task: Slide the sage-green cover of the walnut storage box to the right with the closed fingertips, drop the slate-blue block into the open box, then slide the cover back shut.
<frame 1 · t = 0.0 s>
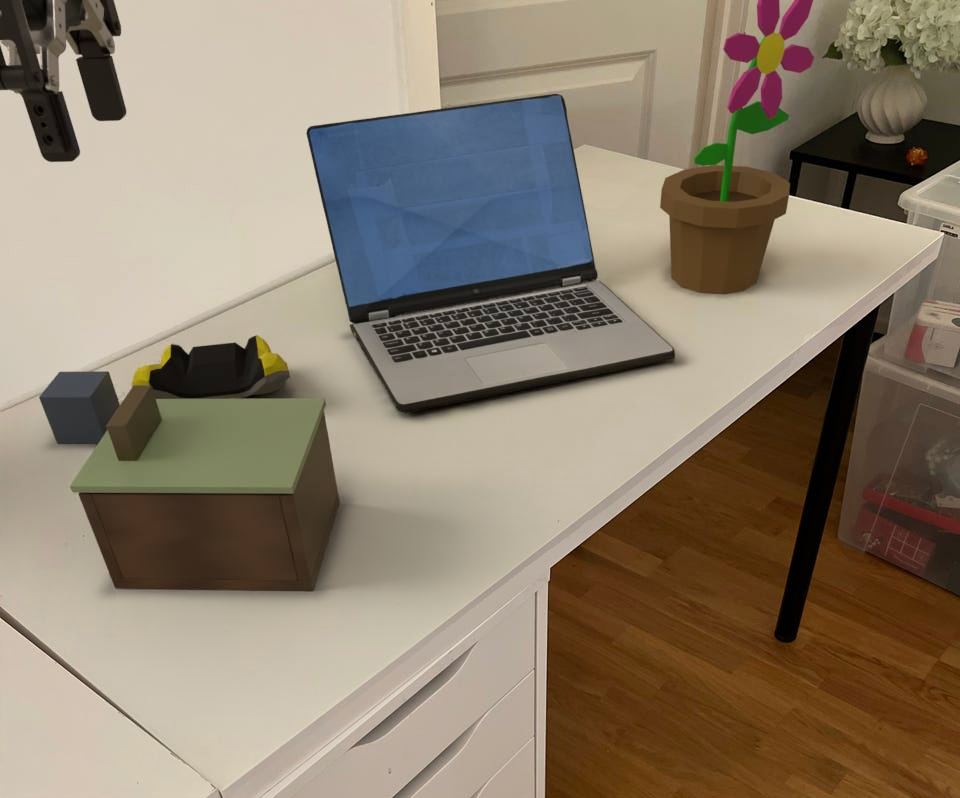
hand: (88, 138, 63), 30 cm above the table, tool pointing down, fingers open, 8 cm apart
flowerpot: (714, 277, 115), on the table
storage box: (232, 543, 80), on the table
block: (91, 430, 95), on the table
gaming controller: (221, 398, 99), on the table
cover: (200, 425, 73), point 11 cm above the table, slide at 0.0 cm
laptop: (490, 328, 108), on the table
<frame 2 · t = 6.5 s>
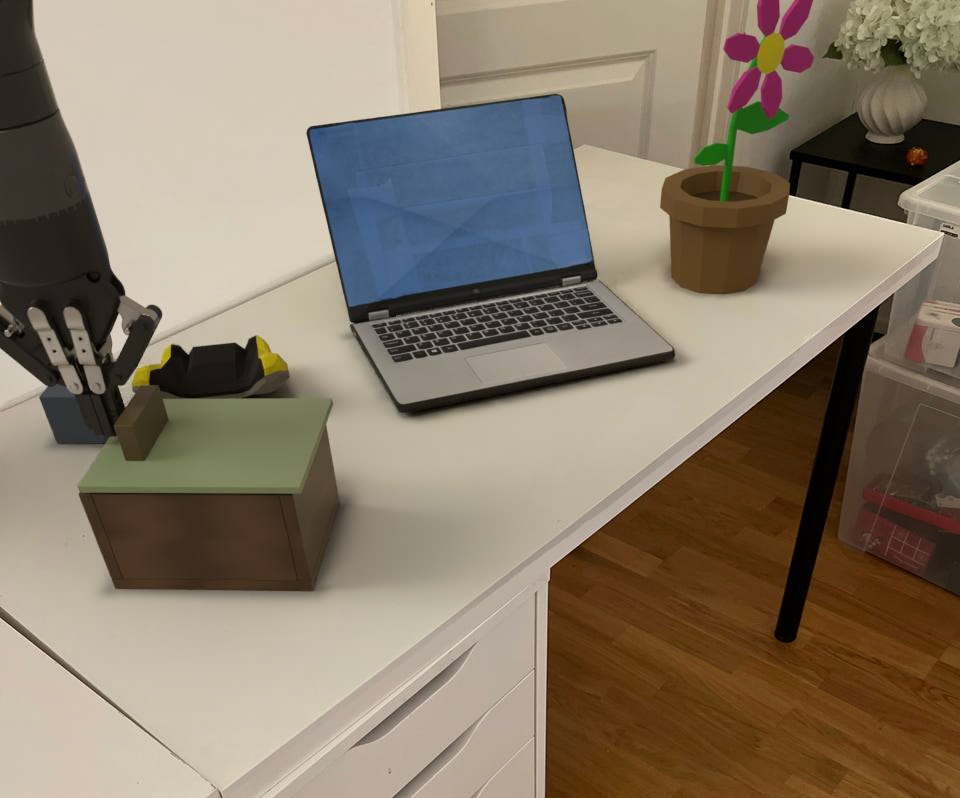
hand: (110, 431, 74), 11 cm above the table, tool pointing down, fingers closed
cover: (207, 425, 73), point 11 cm above the table, slide at 0.6 cm, touching gripper
everything else where it was.
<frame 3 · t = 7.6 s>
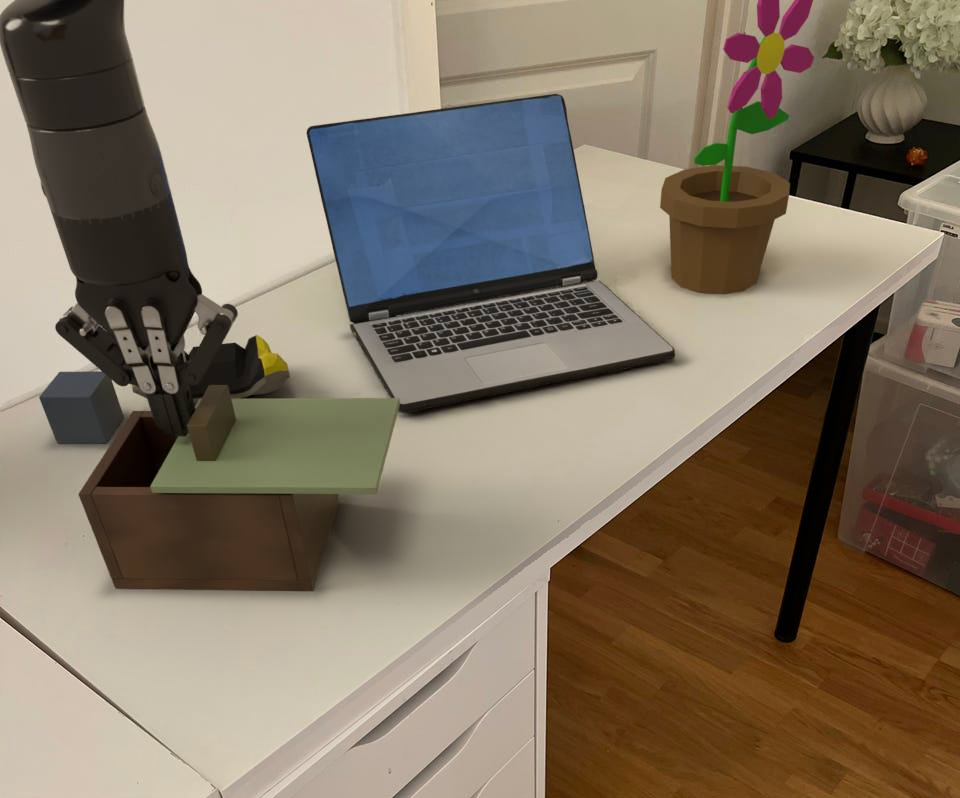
hand: (179, 431, 73), 11 cm above the table, tool pointing down, fingers closed
cover: (278, 425, 72), point 11 cm above the table, slide at 6.0 cm, touching gripper
everything else where it was.
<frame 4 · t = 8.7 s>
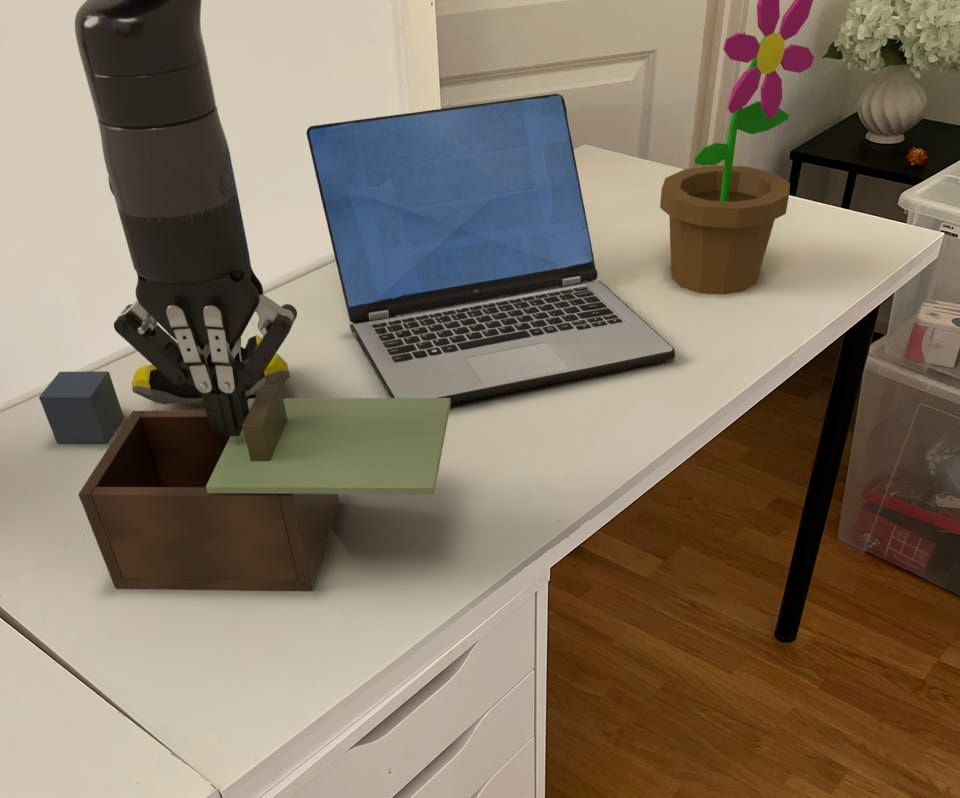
hand: (231, 430, 73), 11 cm above the table, tool pointing down, fingers closed
cover: (332, 425, 72), point 11 cm above the table, slide at 10.1 cm, touching gripper
everything else where it was.
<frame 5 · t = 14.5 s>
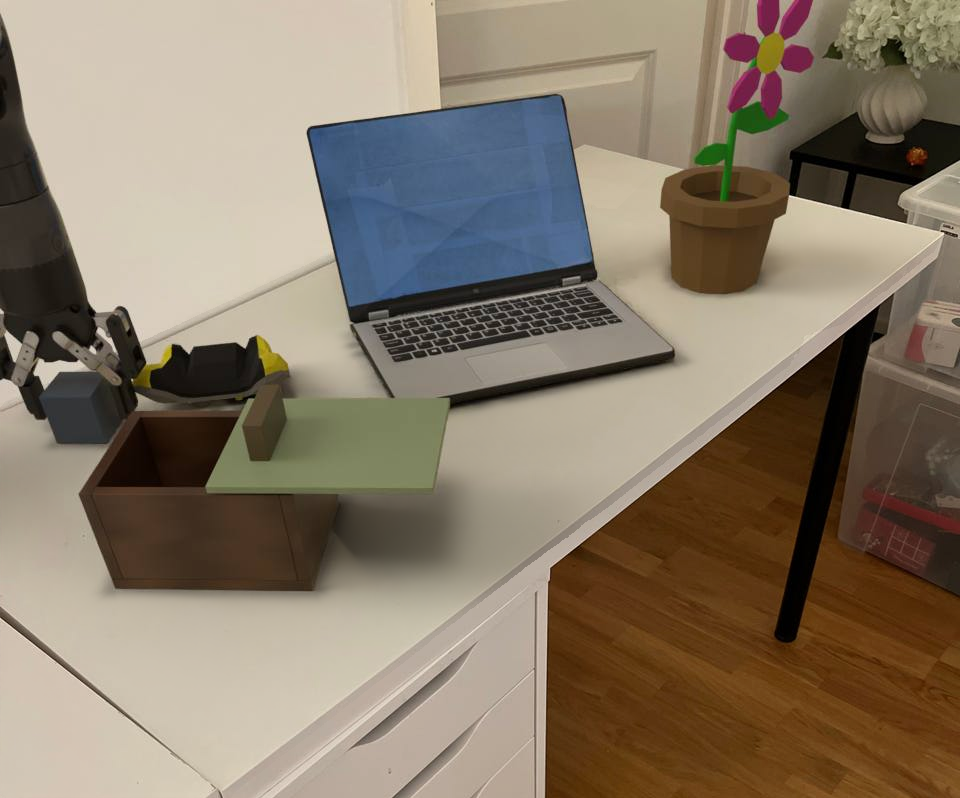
hand: (86, 415, 94), 2 cm above the table, tool pointing down, fingers open, 8 cm apart
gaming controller: (221, 398, 99), on the table, touching gripper
cover: (331, 425, 72), point 11 cm above the table, slide at 10.0 cm
everything else where it was.
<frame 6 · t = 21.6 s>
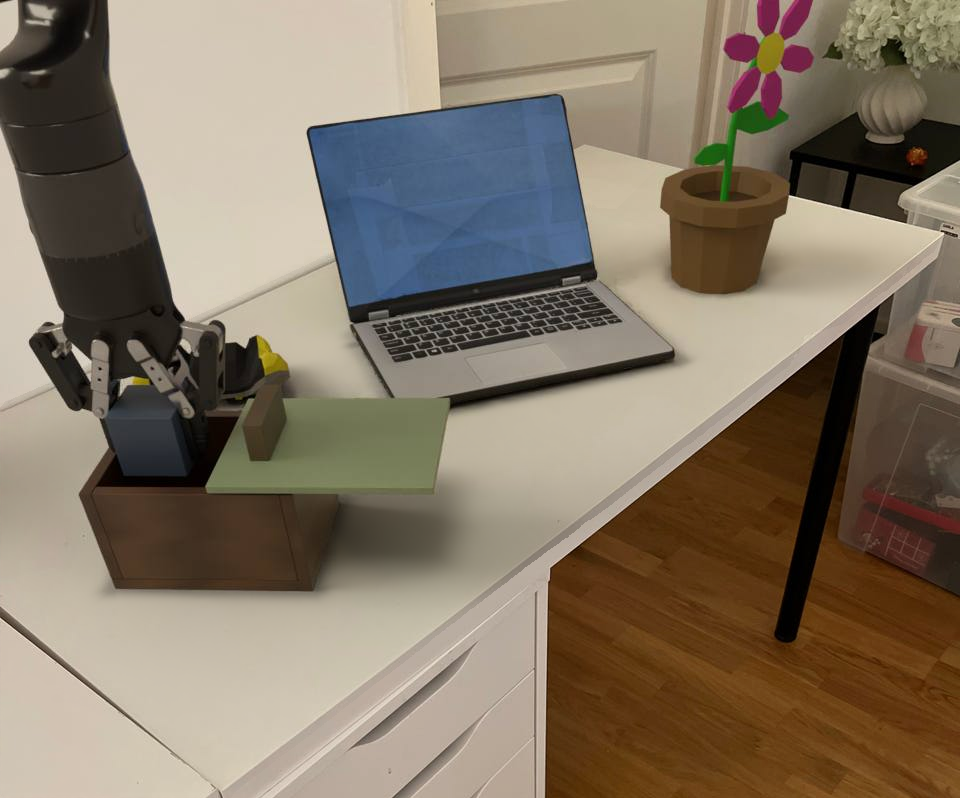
hand: (163, 453, 75), 9 cm above the table, tool pointing down, fingers closed on block, 5 cm apart
block: (165, 458, 75), point 8 cm above the table, touching gripper
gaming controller: (221, 397, 99), on the table
everything else where it was.
when the fingers open (11 cm above the table, at t = 35.2 s): block drops 10 cm, resting on storage box.
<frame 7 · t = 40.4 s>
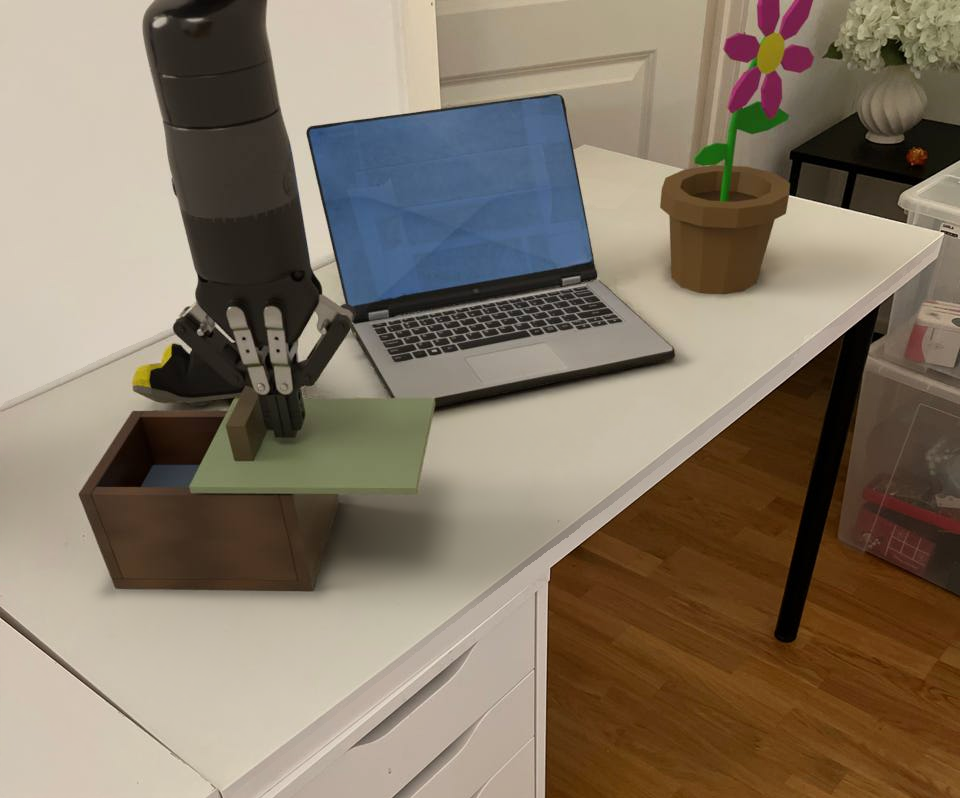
hand: (287, 432, 73), 11 cm above the table, tool pointing down, fingers closed
block: (189, 532, 80), point 1 cm above the table, touching storage box
cover: (315, 425, 72), point 11 cm above the table, slide at 8.8 cm, touching gripper
everything else where it was.
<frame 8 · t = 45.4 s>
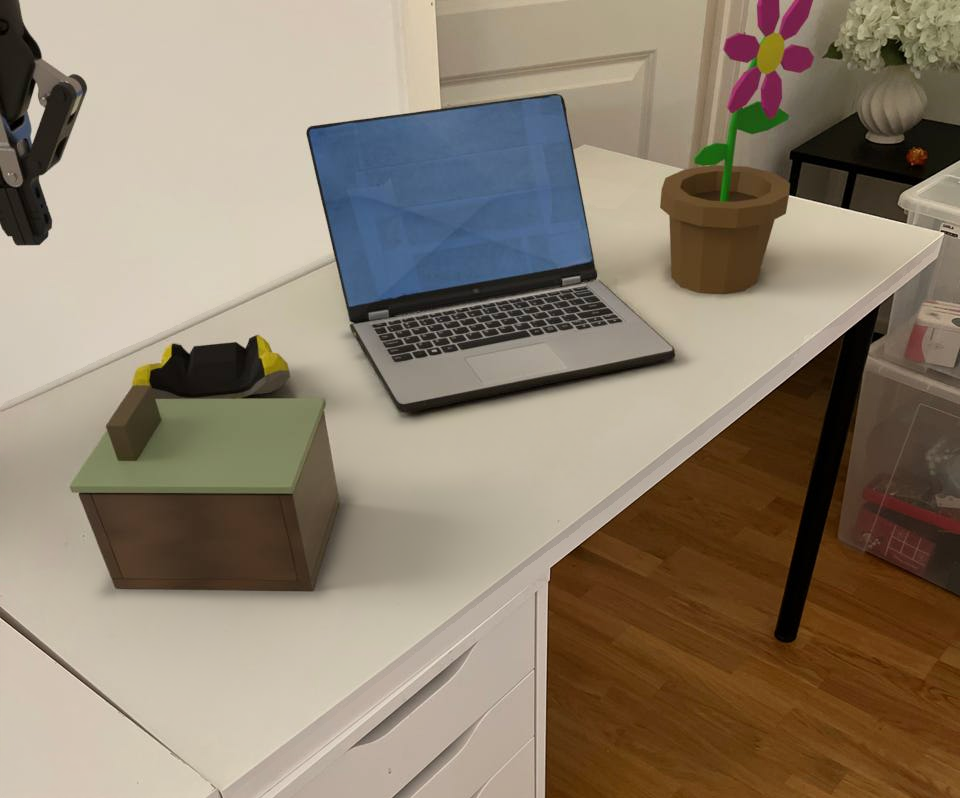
hand: (32, 240, 64), 25 cm above the table, tool pointing down, fingers closed
cover: (199, 425, 73), point 11 cm above the table, slide at 0.0 cm
everything else where it was.
at the end: cover pulled out 10.1 cm at the most during the clip, back to where it started at the end; block inside the target area on the storage box (3.5 cm from its centre), point 1.0 cm above the storage box's base; cover slide at 0.0 cm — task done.
